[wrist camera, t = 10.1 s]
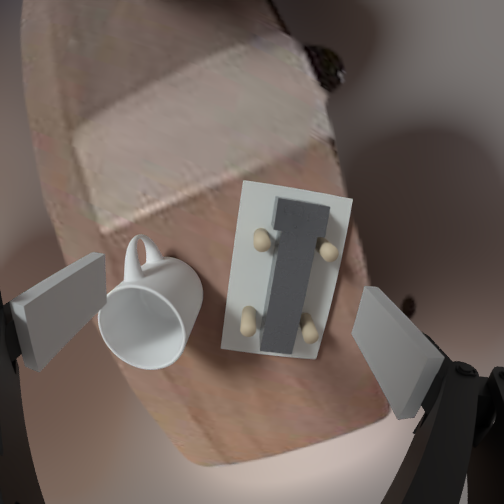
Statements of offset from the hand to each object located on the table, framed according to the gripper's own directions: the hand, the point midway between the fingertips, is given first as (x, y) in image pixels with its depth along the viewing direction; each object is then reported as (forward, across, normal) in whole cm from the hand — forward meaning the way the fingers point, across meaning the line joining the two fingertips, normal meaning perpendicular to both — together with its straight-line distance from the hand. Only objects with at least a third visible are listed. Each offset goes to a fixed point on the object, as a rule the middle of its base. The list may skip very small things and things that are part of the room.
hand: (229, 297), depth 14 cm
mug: (+20, -8, -7) cm, 23 cm away
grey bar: (+18, +5, -4) cm, 20 cm away
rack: (+20, +5, -5) cm, 21 cm away
